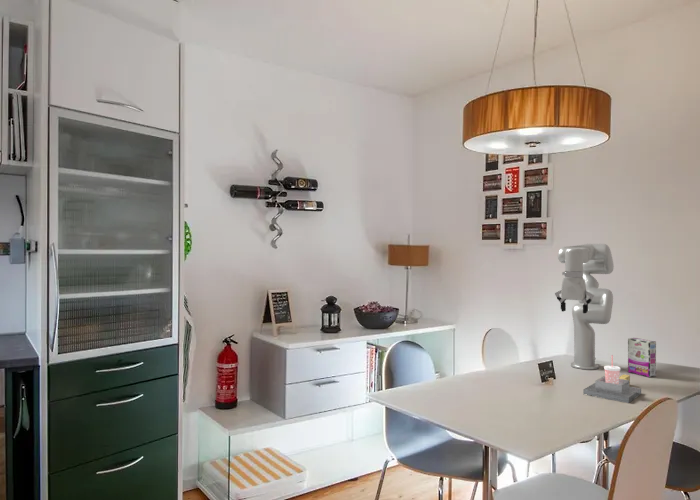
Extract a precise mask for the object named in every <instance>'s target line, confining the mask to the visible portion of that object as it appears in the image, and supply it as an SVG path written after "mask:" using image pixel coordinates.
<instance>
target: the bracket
mask: <svg viewBox="0 0 700 500" xmlns="http://www.w3.org/2000/svg"><path fill="white" fill-rule="evenodd" d="M619 379H624V380H629V386H630V385H631V376H630V374H621V375H619Z"/></svg>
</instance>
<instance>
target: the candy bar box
mask: <svg viewBox="0 0 700 500" xmlns="http://www.w3.org/2000/svg"><path fill="white" fill-rule="evenodd" d="M627 372H628V373H630V374H634V375H638V376H643V377H647V378H654V377H656V376H657V341H656V340H655V341H654V340H649V339H642V338H638V337H629V338H627Z"/></svg>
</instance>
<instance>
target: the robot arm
mask: <svg viewBox="0 0 700 500" xmlns="http://www.w3.org/2000/svg"><path fill="white" fill-rule="evenodd" d="M557 259H558V262H560V263H561V264H565V267H564V271H562V272H561V274H562V276H564V277H562V284H561V290H559V291H556V292H554V296H555V297H556V299H557V300H558V302H559V303H560V310H561V312H565V311H566V305H567V303H566V301H567V300H569V301H578V303H576V304H574V305H573V306H572V308H571V315H572V321H573V361H572V362H570V366H571V367H572V368H575V369H578V370H579V369H581V370H591V371H592V370H596V369H599V365H598V363H596V359H597V358H596V332H595V330H594V327H592V326H591V324H594V325H595V324H597V325H606V324H609V323H610V321H611V318H612V312H613V303H614V295H613V291H611V290H610V289H608V288H603V287H602V288H601V287H600V286H599V285H600V283H599V281H598V280H597V279H596V278H595V277H594V276H593V275H610V274H612V273H613V271H614V269H615V268H614V267H615V266H614V259H613V255H612V251H611V248H610V247H609V245H608V244H607V243H584V244H580V245H579V244H578V245H570V246H562V247H560V248H559V250H558V253H557ZM599 287H600V288H599Z"/></svg>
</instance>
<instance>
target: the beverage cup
mask: <svg viewBox="0 0 700 500" xmlns="http://www.w3.org/2000/svg"><path fill="white" fill-rule="evenodd" d="M613 357H614V355H613V354H611V365H604V366H603V368H604V376H605V380H606V382H609V383H614V384H619V377H620V372H621V367H619V366H618V365H616V366H615V365H614V363H613V362H614V361H613V360H614V358H613Z"/></svg>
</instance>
